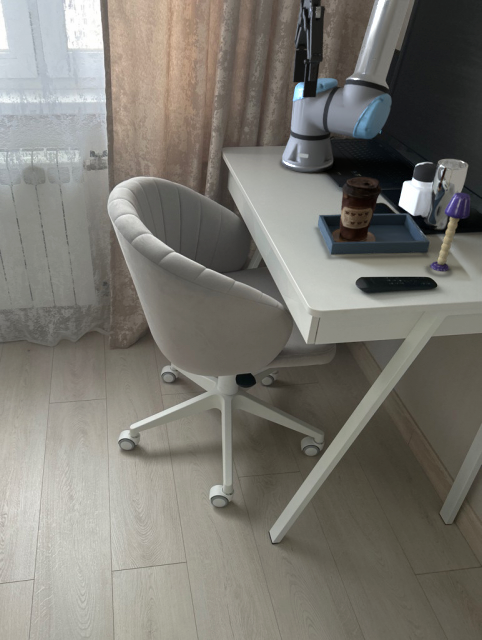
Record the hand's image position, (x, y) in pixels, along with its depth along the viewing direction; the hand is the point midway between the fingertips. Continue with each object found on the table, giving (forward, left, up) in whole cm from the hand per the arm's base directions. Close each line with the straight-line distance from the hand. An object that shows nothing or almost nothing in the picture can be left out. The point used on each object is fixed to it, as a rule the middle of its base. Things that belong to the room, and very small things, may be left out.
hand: (303, 89), depth 127 cm
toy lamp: (+32, +27, -29) cm, 51 cm away
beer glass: (+10, +34, -29) cm, 46 cm away
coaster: (+18, +11, -28) cm, 35 cm away
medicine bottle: (+2, +32, -29) cm, 43 cm away
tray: (+18, +15, -29) cm, 37 cm away
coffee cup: (+18, +11, -28) cm, 35 cm away
